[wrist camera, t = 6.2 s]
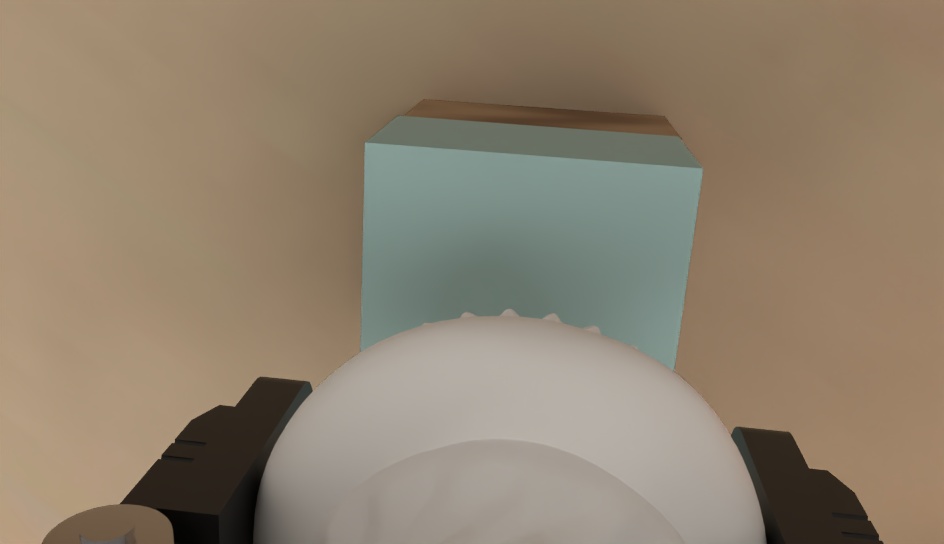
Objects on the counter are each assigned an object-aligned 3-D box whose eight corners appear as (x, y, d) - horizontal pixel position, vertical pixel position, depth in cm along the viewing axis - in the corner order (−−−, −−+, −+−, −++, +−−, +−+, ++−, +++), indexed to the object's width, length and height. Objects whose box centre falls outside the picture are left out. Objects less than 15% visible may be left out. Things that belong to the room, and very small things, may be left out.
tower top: (678, 136, 22) (703, 168, 18) (644, 393, 24) (659, 469, 20) (397, 115, 22) (365, 142, 18) (389, 368, 24) (358, 439, 21)
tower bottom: (663, 115, 26) (681, 138, 22) (635, 338, 28) (647, 394, 24) (424, 98, 26) (401, 118, 22) (415, 319, 28) (393, 371, 24)
